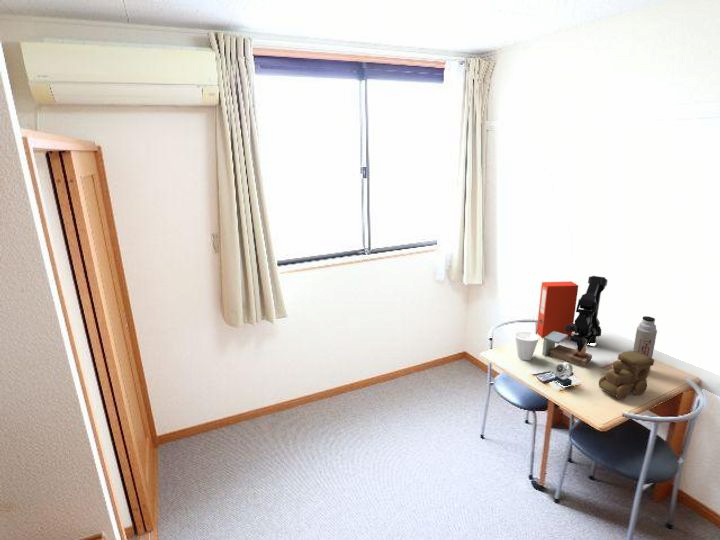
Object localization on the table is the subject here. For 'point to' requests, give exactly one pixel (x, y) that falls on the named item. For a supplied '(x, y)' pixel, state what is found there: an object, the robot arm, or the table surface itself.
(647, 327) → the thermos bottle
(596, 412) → the table surface
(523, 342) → the cup
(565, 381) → the watch
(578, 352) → the peg
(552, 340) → the awning
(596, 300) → the robot arm
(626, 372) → the wooden toy train
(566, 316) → the file binder
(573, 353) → the socket block
